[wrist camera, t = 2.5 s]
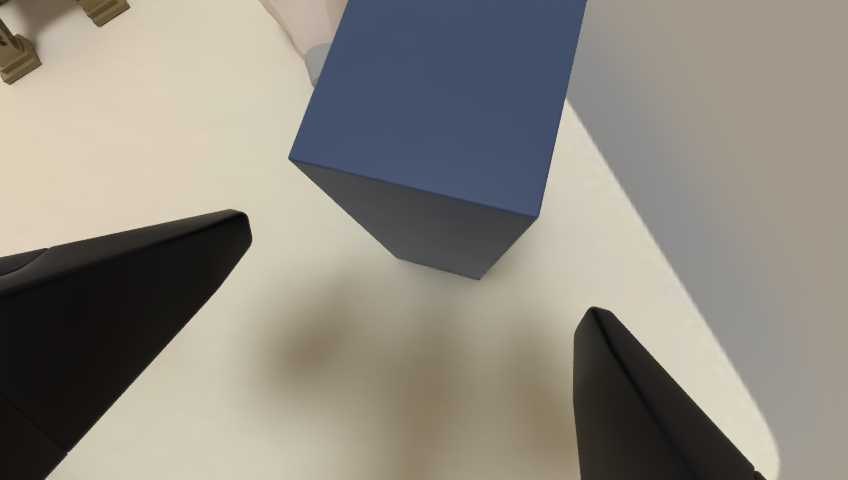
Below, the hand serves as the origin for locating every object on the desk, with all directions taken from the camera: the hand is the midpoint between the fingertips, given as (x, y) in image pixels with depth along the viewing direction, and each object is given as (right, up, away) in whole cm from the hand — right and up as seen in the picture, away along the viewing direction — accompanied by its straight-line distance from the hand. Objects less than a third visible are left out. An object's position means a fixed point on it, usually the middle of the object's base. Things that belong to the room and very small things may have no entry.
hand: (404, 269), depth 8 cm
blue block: (+2, +1, +11) cm, 11 cm away
